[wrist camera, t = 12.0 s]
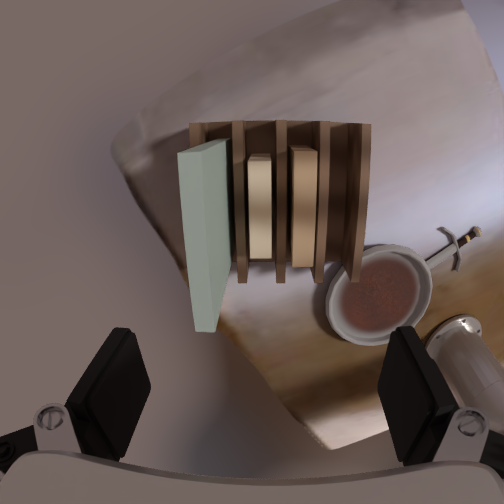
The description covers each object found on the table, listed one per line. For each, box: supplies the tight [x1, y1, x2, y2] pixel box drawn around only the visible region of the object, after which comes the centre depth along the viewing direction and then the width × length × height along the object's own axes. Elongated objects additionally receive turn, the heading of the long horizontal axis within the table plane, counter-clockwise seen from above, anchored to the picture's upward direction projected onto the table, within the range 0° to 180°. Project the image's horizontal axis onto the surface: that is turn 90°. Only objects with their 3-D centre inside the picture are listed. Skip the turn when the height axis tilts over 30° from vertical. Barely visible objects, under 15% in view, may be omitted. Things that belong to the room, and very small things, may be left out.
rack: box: [189, 120, 371, 283], centre depth 37 cm, size 18×19×7 cm
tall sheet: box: [177, 138, 235, 332], centre depth 31 cm, size 14×2×18 cm, turn 1°
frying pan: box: [325, 227, 481, 346], centre depth 43 cm, size 17×3×28 cm
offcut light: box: [248, 154, 272, 258], centre depth 35 cm, size 10×2×8 cm, turn 1°
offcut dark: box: [288, 145, 317, 267], centre depth 35 cm, size 12×2×8 cm, turn 1°
